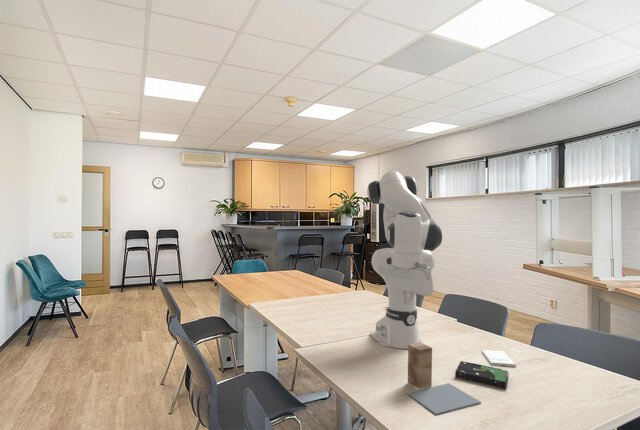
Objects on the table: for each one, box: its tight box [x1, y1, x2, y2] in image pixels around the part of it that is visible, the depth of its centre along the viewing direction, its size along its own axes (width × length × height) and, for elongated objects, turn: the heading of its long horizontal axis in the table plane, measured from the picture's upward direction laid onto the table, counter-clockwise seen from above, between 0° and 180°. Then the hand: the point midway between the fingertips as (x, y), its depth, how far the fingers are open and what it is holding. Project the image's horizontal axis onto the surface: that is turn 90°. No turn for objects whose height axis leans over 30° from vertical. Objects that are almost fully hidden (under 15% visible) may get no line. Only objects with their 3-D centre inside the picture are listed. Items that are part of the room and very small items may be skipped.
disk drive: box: [454, 360, 509, 390], centre depth 116 cm, size 10×3×15 cm
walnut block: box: [407, 342, 433, 391], centre depth 109 cm, size 5×5×12 cm
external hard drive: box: [481, 349, 517, 368], centre depth 131 cm, size 2×8×12 cm
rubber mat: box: [406, 383, 482, 416], centre depth 101 cm, size 12×16×1 cm
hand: (407, 304), depth 115 cm, fingers closed
